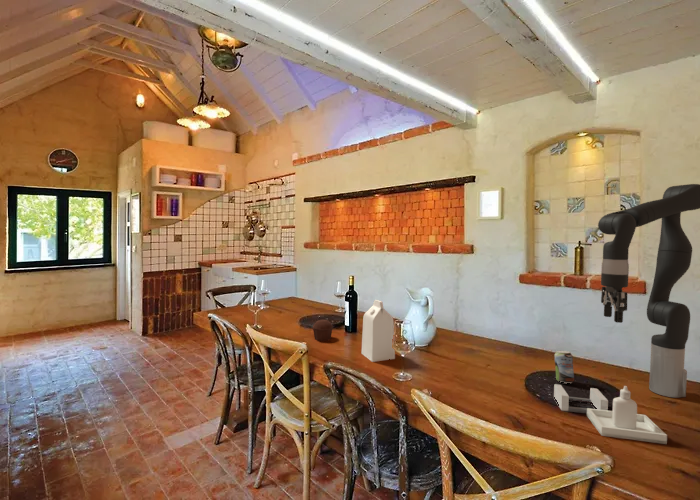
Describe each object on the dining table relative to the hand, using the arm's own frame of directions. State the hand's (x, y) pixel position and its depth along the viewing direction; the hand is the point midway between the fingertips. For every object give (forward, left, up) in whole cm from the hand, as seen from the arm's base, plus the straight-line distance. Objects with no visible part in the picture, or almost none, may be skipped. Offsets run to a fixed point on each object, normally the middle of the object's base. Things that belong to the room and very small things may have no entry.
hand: (612, 319), depth 125 cm
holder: (+12, +9, -28) cm, 32 cm away
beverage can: (+11, -12, -28) cm, 33 cm away
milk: (+86, -21, -28) cm, 93 cm away
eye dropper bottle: (+4, +21, -28) cm, 35 cm away
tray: (+4, +21, -28) cm, 35 cm away
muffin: (+120, -40, -28) cm, 130 cm away
